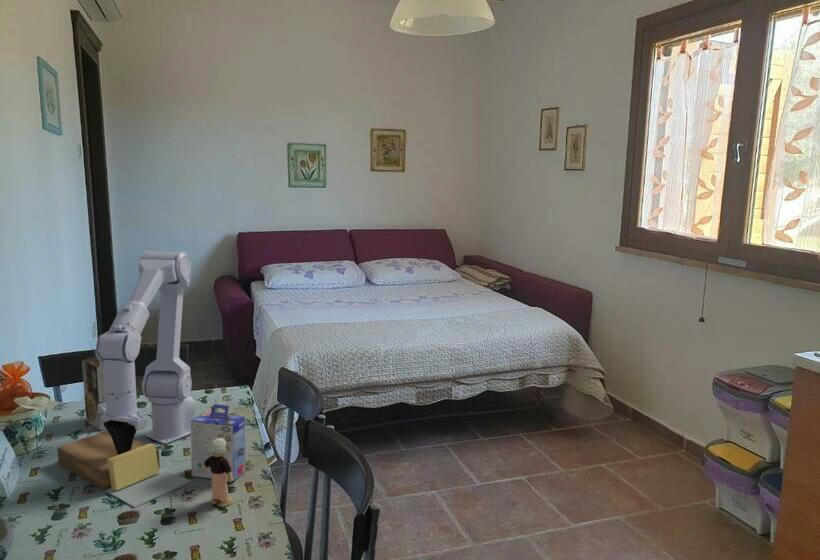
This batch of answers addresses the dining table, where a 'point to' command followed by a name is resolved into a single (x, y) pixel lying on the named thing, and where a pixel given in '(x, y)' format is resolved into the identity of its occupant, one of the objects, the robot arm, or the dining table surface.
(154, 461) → the pale yellow foam brick
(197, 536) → the dining table surface
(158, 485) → the mat
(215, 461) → the grandmother figurine
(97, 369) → the coffee box
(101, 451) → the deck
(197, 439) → the ink cartridge box
